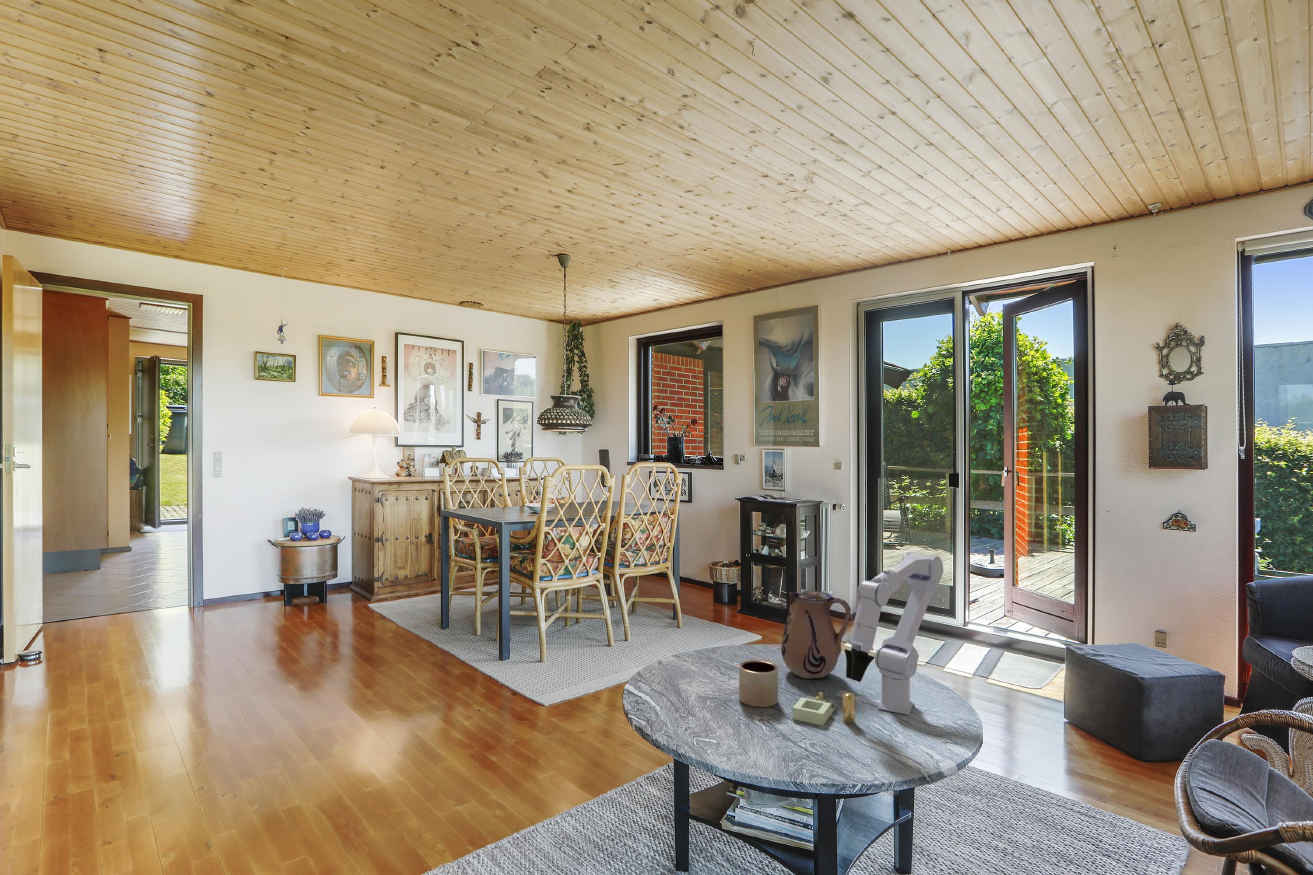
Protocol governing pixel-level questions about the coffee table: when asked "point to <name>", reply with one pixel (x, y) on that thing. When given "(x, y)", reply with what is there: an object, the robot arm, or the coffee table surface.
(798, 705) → the slot jig
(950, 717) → the coffee table surface
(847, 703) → the brass pin
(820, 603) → the ceramic pitcher
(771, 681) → the planter
